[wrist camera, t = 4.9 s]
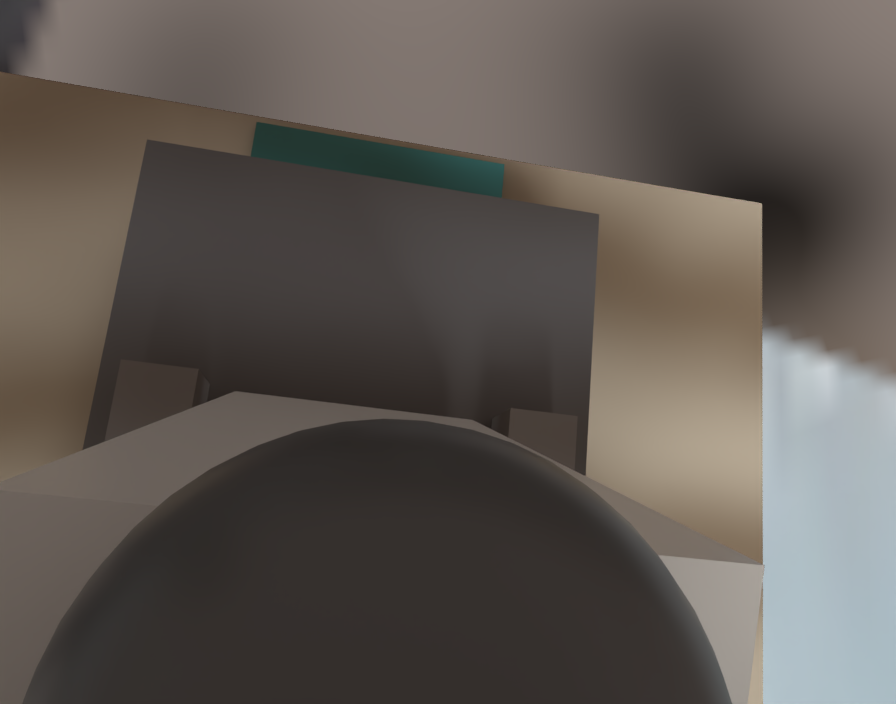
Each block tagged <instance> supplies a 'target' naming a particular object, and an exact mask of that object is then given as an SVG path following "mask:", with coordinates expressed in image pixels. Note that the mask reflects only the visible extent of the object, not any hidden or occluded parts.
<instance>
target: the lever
mask: <svg viewBox="0 0 896 704" xmlns="http://www.w3.org/2000/svg"><path fill="white" fill-rule="evenodd" d="M764 566H765V565H763V564H761V563H759V562H757V561H755V560H753V559H751V558H749V557H747V556H745V555H743V554H741V553H739V552H737V551H735V550H733V549H731V548H729V547H727V546H725V545H723V544H721V543H719V542H717V541H715V540H712V539H710V538H708V537H706V536H704V535H702V534H700V533H698V532H696V531H694V530H692V529H690V528H688V527H686V526H684V525H682V524H680V523H678V522H676V521H674V520H672V519H670V518H668V517H666V516H664V515H662V514H660V513H658V512H656V511H654V510H652V509H650V508H648V507H646V506H644V505H642V504H640V503H638V502H636V501H634V500H632V499H630V498H628V497H626V496H624V495H622V494H620V493H618V492H616V491H614V490H612V489H610V488H608V487H606V486H604V485H602V484H600V483H598V482H596V481H594V480H592V479H590V478H588V477H586V476H584V475H582V474H580V473H578V472H576V471H574V470H572V469H570V468H568V467H566V466H564V465H562V464H560V463H558V462H556V461H554V460H552V459H550V458H548V457H546V456H544V455H542V454H540V453H538V452H536V451H534V450H532V449H530V448H528V447H526V446H524V445H522V444H520V443H518V442H516V441H514V440H512V439H510V438H508V437H506V436H504V435H502V434H500V433H498V432H496V431H494V430H492V429H490V428H488V427H486V426H484V425H482V424H480V423H478V422H476V421H474V420H470V419H461V418H453V417H445V416H437V415H428V414H420V413H412V412H404V411H395V410H387V409H379V408H371V407H362V406H354V405H346V404H338V403H329V402H321V401H313V400H305V399H296V398H288V397H280V396H272V395H263V394H255V393H247V392H239V391H234V392H232V393H229V394H227V395H224V396H221V397H219V398H216V399H214V400H211V401H208V402H206V403H203V404H201V405H198V406H195V407H193V408H190V409H188V410H185V411H183V412H180V413H177V414H175V415H172V416H170V417H167V418H164V419H162V420H159V421H157V422H154V423H152V424H149V425H146V426H144V427H141V428H139V429H136V430H133V431H131V432H128V433H126V434H123V435H120V436H118V437H115V438H113V439H110V440H108V441H105V442H102V443H100V444H97V445H95V446H92V447H89V448H87V449H84V450H82V451H79V452H76V453H74V454H71V455H69V456H66V457H64V458H61V459H58V460H56V461H53V462H51V463H48V464H45V465H43V466H40V467H38V468H35V469H33V470H30V471H27V472H25V473H22V474H20V475H17V476H14V477H12V478H9V479H7V480H4V481H1V482H0V704H748V697H749V689H750V680H751V672H752V664H753V656H754V648H755V639H756V631H757V623H758V615H759V607H760V599H761V590H762V582H763V574H764Z"/></svg>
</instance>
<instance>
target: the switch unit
mask: <svg viewBox="0 0 896 704" xmlns="http://www.w3.org/2000/svg"><path fill="white" fill-rule="evenodd" d="M234 391H239V392H247V393H255V394H263V395H272V396H280V397H288V398H296V399H305V400H313V401H321V402H329V403H338V404H346V405H354V406H362V407H371V408H379V409H387V410H395V411H404V412H412V413H420V414H428V415H437V416H445V417H453V418H461V419H470V420H474V421H476V422H478V423H480V424H482V425H484V426H486V427H488V428H490V429H492V430H494V431H496V432H498V433H500V434H502V435H504V436H506V437H508V438H510V439H512V440H514V441H516V442H518V443H520V444H522V445H524V446H526V447H528V448H530V449H532V450H534V451H536V452H538V453H540V454H542V455H544V456H546V457H548V458H550V459H552V460H554V461H556V462H558V463H560V464H562V465H564V466H566V467H568V468H570V469H572V470H574V471H576V472H578V473H580V474H582V475H584V476H586V477H588V478H590V479H592V480H594V481H596V482H598V483H600V484H602V485H604V486H606V487H608V488H610V489H612V490H614V491H616V492H618V493H620V494H622V495H624V496H626V497H628V498H630V499H632V500H634V501H636V502H638V503H640V504H642V505H644V506H646V507H648V508H650V509H652V510H654V511H656V512H658V513H660V514H662V515H664V516H666V517H668V518H670V519H672V520H674V521H676V522H678V523H680V524H682V525H684V526H686V527H688V528H690V529H692V530H694V531H696V532H698V533H700V534H702V535H704V536H706V537H708V538H710V539H712V540H715V541H717V542H719V543H721V544H723V545H725V546H727V547H729V548H731V549H733V550H735V551H737V552H739V553H741V554H743V555H745V556H747V557H749V558H751V559H753V560H755V561H757V562H759V563H761V564H763V532H762V204H761V203H756V202H749V201H743V200H738V199H733V198H727V197H721V196H715V195H709V194H704V193H698V192H692V191H686V190H680V189H675V188H669V187H663V186H657V185H652V184H646V183H640V182H634V181H628V180H623V179H617V178H611V177H605V176H600V175H594V174H588V173H582V172H577V171H570V170H565V169H559V168H553V167H548V166H542V165H536V164H530V163H525V162H519V161H512V160H507V159H501V158H496V157H490V156H484V155H478V154H472V153H467V152H461V151H455V150H449V149H443V148H438V147H432V146H426V145H420V144H414V143H409V142H403V141H397V140H391V139H385V138H380V137H374V136H368V135H362V134H357V133H351V132H345V131H339V130H334V129H328V128H322V127H316V126H311V125H305V124H299V123H293V122H288V121H282V120H276V119H270V118H264V117H259V116H253V115H247V114H241V113H236V112H230V111H224V110H218V109H212V108H207V107H201V106H195V105H189V104H184V103H178V102H172V101H166V100H160V99H154V98H149V97H143V96H137V95H131V94H125V93H120V92H114V91H108V90H103V89H97V88H91V87H85V86H80V85H74V84H68V83H62V82H56V81H50V80H45V79H39V78H33V77H28V76H22V75H16V74H10V73H4V72H0V482H1V481H4V480H7V479H9V478H12V477H14V476H17V475H20V474H22V473H25V472H27V471H30V470H33V469H35V468H38V467H40V466H43V465H45V464H48V463H51V462H53V461H56V460H58V459H61V458H64V457H66V456H69V455H71V454H74V453H76V452H79V451H82V450H84V449H87V448H89V447H92V446H95V445H97V444H100V443H102V442H105V441H108V440H110V439H113V438H115V437H118V436H120V435H123V434H126V433H128V432H131V431H133V430H136V429H139V428H141V427H144V426H146V425H149V424H152V423H154V422H157V421H159V420H162V419H164V418H167V417H170V416H172V415H175V414H177V413H180V412H183V411H185V410H188V409H190V408H193V407H195V406H198V405H201V404H203V403H206V402H208V401H211V400H214V399H216V398H219V397H221V396H224V395H227V394H229V393H232V392H234ZM748 704H763V582H762V590H761V599H760V607H759V615H758V623H757V631H756V639H755V648H754V656H753V664H752V672H751V680H750V689H749V697H748Z"/></svg>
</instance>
